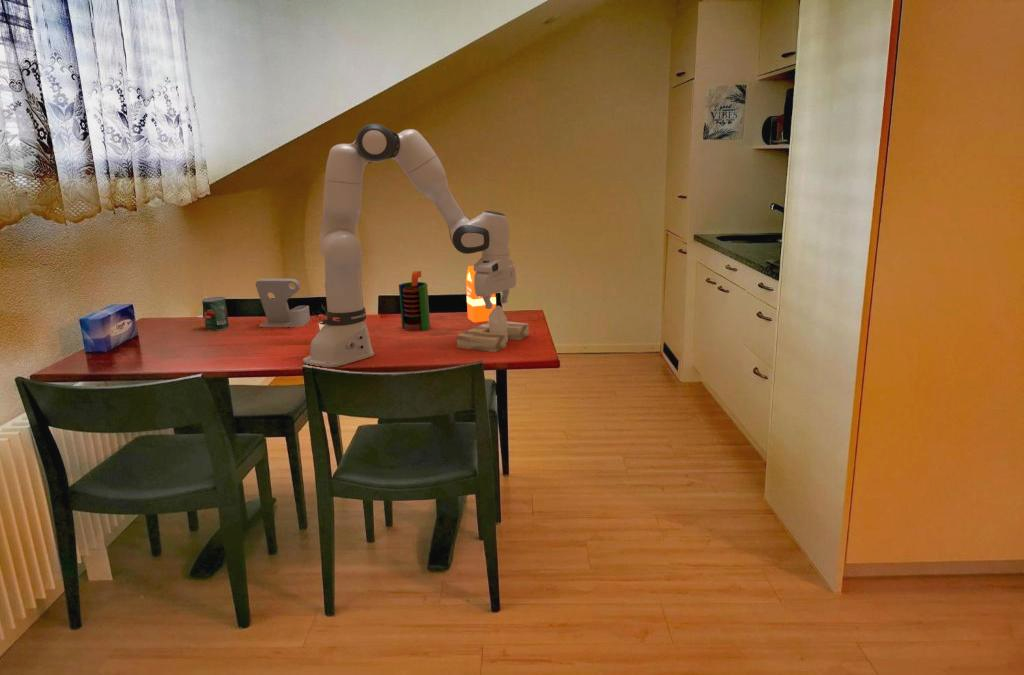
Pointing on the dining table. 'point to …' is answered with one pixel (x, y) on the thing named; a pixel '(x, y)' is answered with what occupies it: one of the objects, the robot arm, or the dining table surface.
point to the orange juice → (476, 300)
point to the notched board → (491, 337)
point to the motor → (414, 304)
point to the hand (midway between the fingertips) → (496, 305)
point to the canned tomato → (215, 313)
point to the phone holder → (281, 303)
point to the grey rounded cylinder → (498, 322)
